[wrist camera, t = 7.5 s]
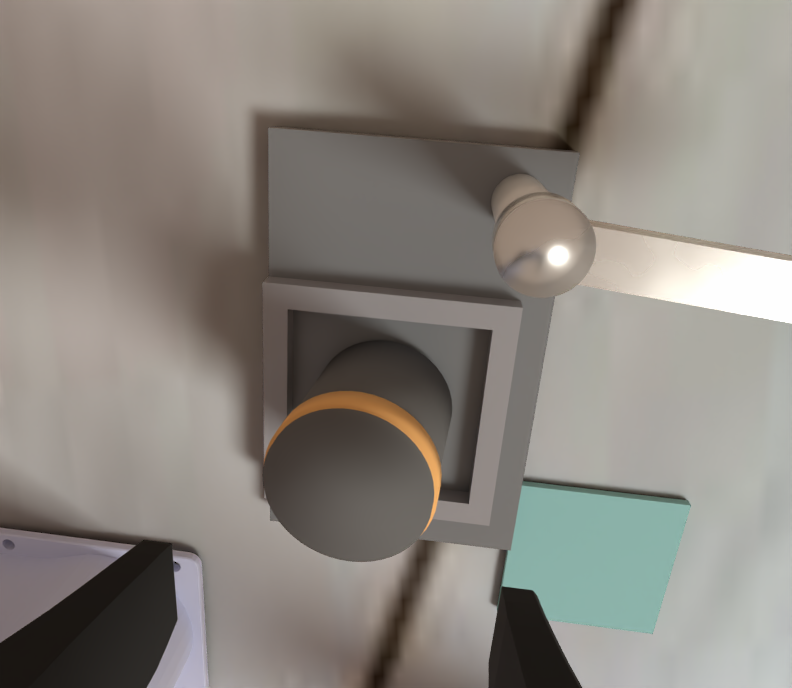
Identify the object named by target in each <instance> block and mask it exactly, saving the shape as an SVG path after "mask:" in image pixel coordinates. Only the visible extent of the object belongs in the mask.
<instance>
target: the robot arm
mask: <svg viewBox="0 0 792 688" xmlns="http://www.w3.org/2000/svg"><path fill="white" fill-rule="evenodd" d="M173 561H175V562H177V563H179V564H180V565H178V564H175V563H174V562H173ZM0 688H209V680H208V662H207V644H206V627H205V609H204V591H203V573H202V562H201V559H200V558H199V557H198V556H197V555H196V554H194V553H190V552H184V551H176V550H172V543H164V542H156V541H148V540H143V541H141V542H140V543H139V544H137V545H130V544H122V543H115V542H107V541H99V540H92V539H84V538H76V537H69V536H61V535H53V534H46V533H38V532H30V531H22V530H15V529H7V528H0ZM489 688H582V687H581V685H580V683H579V681H578V679H577V677H576V676H575V674H574V672H573V670H572V668H571V667H570V665H569V663H568V661H567V659H566V657H565V655H564V653H563V651H562V649H561V647H560V645H559V643H558V641H557V639H556V637H555V635H554V633H553V631H552V629H551V626H550V624H549V622H548V620H547V618H546V615H545V613H544V611H543V608H542V606H541V604H540V601H539V599H538V596H537V595H536V593H535V592H534V591H533V590H528V589H520V588H512V587H504V586H502V588H501V594H500V600H499V605H498V611H497V617H496V623H495V629H494V634H493V640H492V646H491V652H490V658H489Z"/></svg>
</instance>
